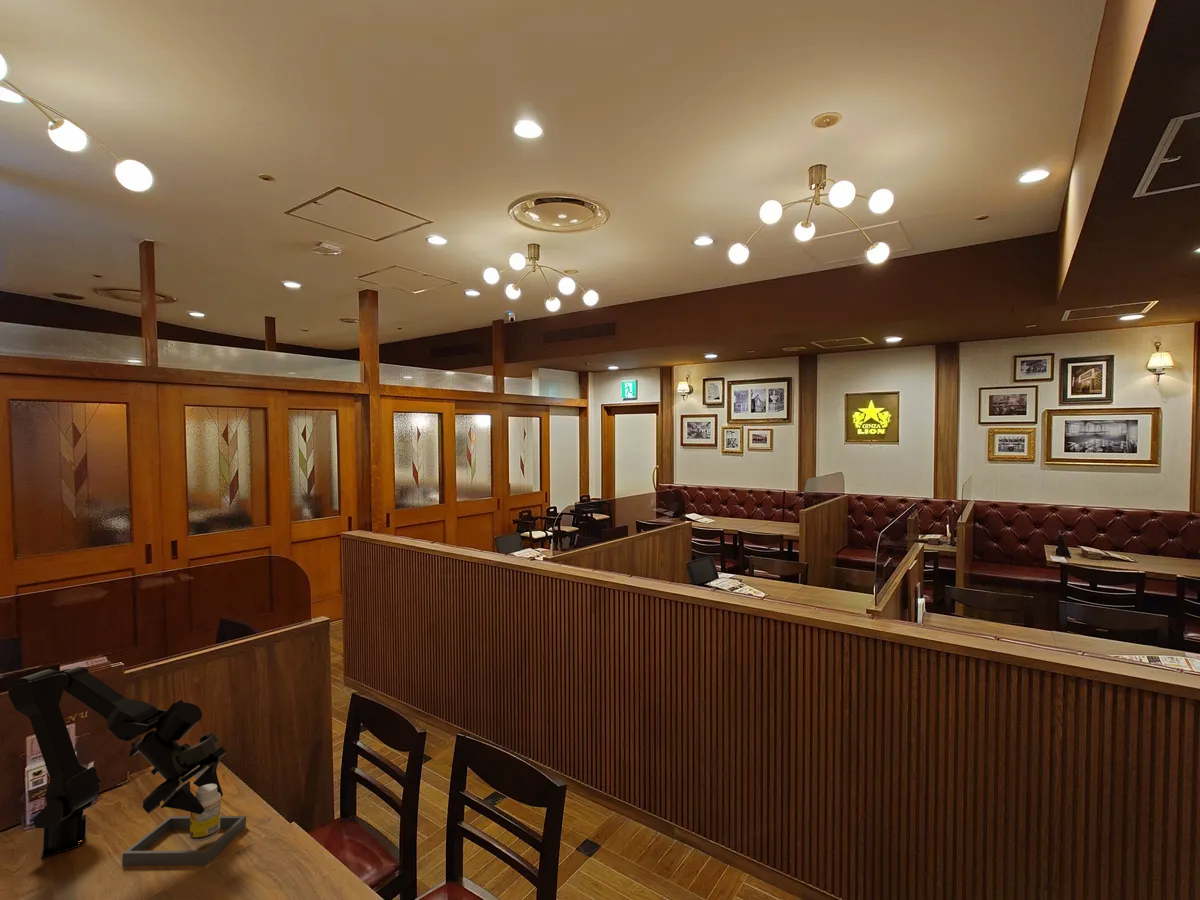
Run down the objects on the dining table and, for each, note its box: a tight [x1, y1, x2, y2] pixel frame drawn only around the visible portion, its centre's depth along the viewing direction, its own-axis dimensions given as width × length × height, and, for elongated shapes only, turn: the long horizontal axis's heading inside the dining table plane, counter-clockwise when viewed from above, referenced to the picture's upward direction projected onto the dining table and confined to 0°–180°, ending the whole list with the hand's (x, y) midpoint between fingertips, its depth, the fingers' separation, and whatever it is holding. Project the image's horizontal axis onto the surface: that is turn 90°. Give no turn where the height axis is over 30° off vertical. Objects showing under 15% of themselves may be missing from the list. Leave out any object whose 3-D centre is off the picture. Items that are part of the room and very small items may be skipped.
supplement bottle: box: [189, 784, 222, 842], centre depth 125 cm, size 6×6×10 cm
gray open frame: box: [121, 815, 247, 867], centre depth 124 cm, size 18×13×2 cm
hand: (212, 804), depth 125 cm, fingers closed on supplement bottle, 5 cm apart
